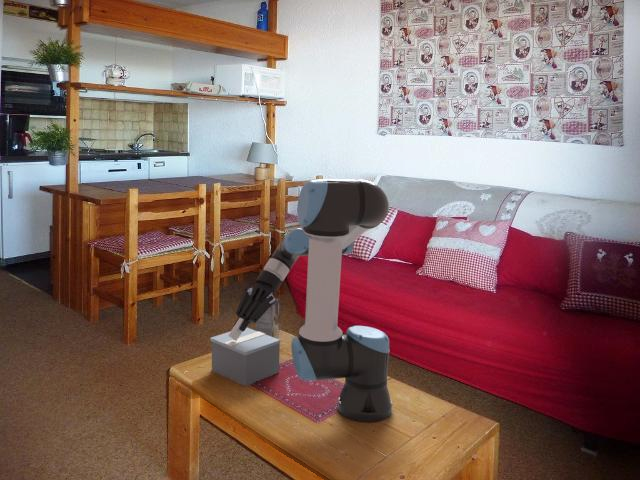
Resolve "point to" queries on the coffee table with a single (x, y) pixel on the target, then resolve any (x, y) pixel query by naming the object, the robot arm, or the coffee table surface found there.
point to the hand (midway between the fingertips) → (232, 338)
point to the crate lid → (246, 341)
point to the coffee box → (270, 321)
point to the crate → (245, 363)
